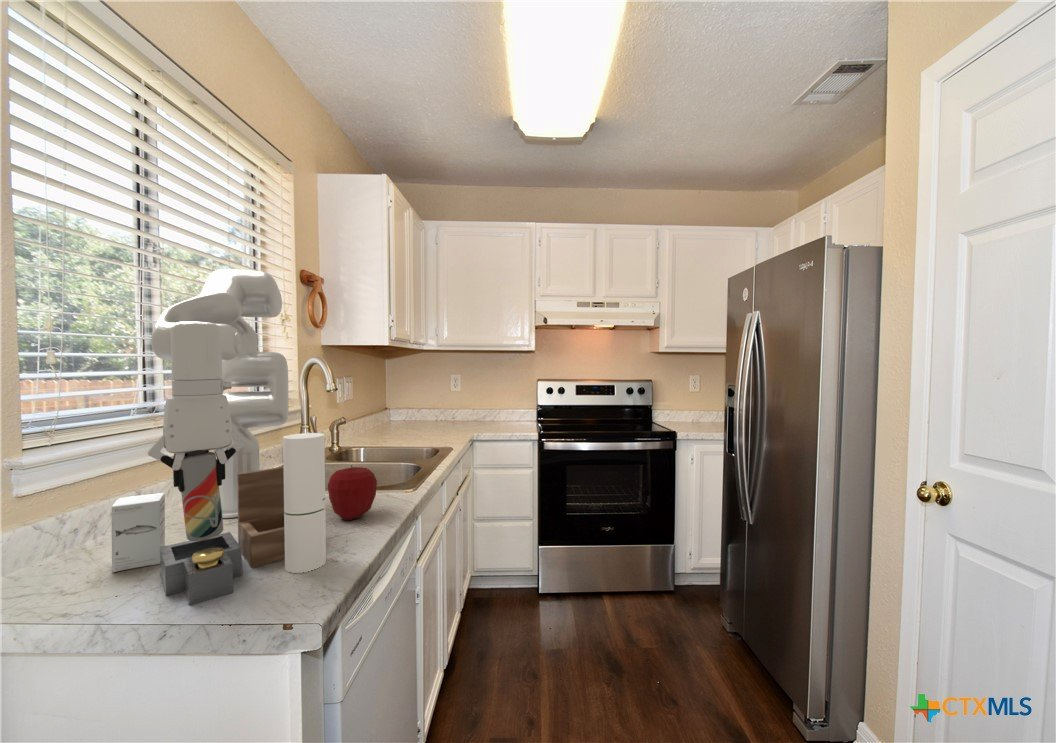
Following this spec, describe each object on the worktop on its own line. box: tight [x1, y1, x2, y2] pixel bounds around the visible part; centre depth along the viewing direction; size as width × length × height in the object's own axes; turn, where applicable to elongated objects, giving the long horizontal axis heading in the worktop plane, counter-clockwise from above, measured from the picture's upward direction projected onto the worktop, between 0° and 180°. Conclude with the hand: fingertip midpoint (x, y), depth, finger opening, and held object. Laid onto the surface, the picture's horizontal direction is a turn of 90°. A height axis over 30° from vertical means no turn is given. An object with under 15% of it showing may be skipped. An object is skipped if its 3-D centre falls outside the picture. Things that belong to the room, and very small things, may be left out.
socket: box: [159, 531, 243, 606], centre depth 82 cm, size 18×11×5 cm, turn 43°
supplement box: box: [111, 492, 166, 574], centre depth 90 cm, size 7×7×13 cm
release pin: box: [192, 547, 224, 569], centre depth 77 cm, size 4×4×6 cm
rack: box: [237, 466, 285, 569], centre depth 95 cm, size 12×11×16 cm
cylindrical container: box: [282, 432, 327, 574], centre depth 88 cm, size 7×7×25 cm
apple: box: [327, 464, 378, 521], centre depth 115 cm, size 12×12×13 cm
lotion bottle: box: [180, 450, 224, 541], centre depth 84 cm, size 6×6×20 cm
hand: (200, 486), depth 84 cm, fingers closed on lotion bottle, 5 cm apart
